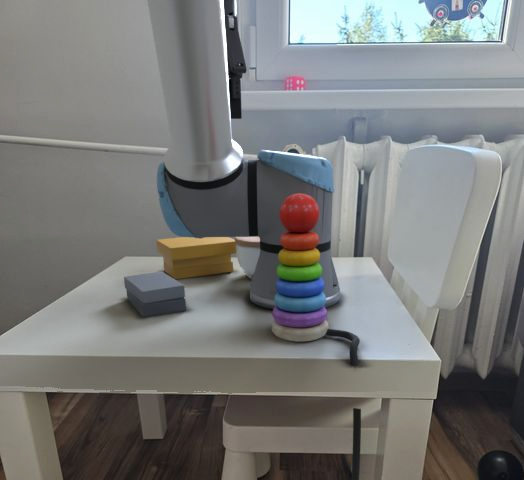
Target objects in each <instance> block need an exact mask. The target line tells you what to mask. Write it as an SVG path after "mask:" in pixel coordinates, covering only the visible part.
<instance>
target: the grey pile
mask: <svg viewBox="0 0 524 480" xmlns="http://www.w3.org/2000/svg"><path fill="white" fill-rule="evenodd" d="M123 283H124V288H125V291H126V298H127V300H128V301H129V302H130V304H131V305H132V306H133V307H134V309H136V311H137V312H138V313H139V314H140V315H141V316H142V317H143V318H147V317H154V316H160V315H166V314H167V315H168V314H172V313H173V314H174V313H178V312H184V311H187V301H186V298H185V297H186V291H185V284H182V282H179V281H178V280H177V279H174V278H173V277H171V276H170V275H169V274H167V273H166V272H165V271H156V272H149V273H141V274H135V275H127V276H123Z"/></svg>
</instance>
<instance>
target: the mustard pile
mask: <svg viewBox="0 0 524 480" xmlns="http://www.w3.org/2000/svg"><path fill="white" fill-rule="evenodd" d="M162 259H163V260H162V261H163V262H162V263H163V272H164V273H165V274H167V275H168V276H170V277H172V278H173V279H175V280H180V279H188V278H194V277H196V278H197V277H202V276H210V275H218V274H225V273H232V272H234V262H233V261H232V254H225V255H216V256H208V257H199V258H190V259H182V260H173V261H171V260H170V259H168V258H167V257H165V256H164V255H162Z"/></svg>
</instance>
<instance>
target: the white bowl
mask: <svg viewBox="0 0 524 480" xmlns="http://www.w3.org/2000/svg"><path fill="white" fill-rule="evenodd" d="M234 240H235V243H236V253H235V254H236V258H237V262H238V265H239V267H240V268H241V270H242V271H243V273H245V274H246V275H247V278H249V279H251V276H252V275H254V272H255V268H256V265H257V262H258V258H259V255H260V237H234Z"/></svg>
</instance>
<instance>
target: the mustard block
mask: <svg viewBox="0 0 524 480" xmlns="http://www.w3.org/2000/svg"><path fill="white" fill-rule="evenodd" d="M155 242H156V252H158V253H159V254H161V255H162V256H163V255H164V256H165V257H167V258H168V259H170V260H171V261H173V260H182V259H190V258H199V257H208V256H216V255H225V254H231V255H233V254H236V243H235V238H234V239H233V238H232V237H204V238H201V239H199V238H192V237H180V236H179V237H171V238H170V237H169V238H161V239H160V238H159V239H156V240H155Z"/></svg>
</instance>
